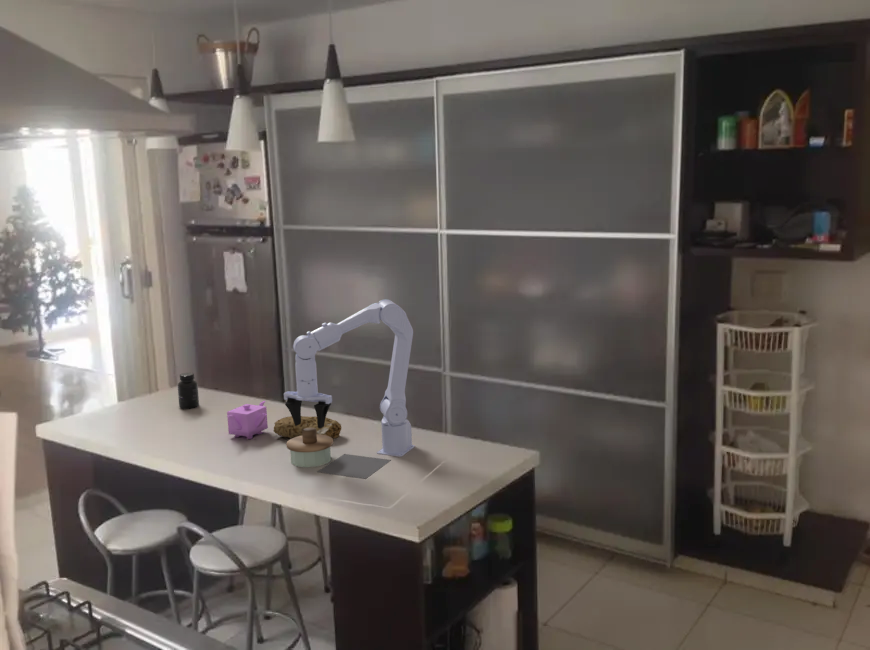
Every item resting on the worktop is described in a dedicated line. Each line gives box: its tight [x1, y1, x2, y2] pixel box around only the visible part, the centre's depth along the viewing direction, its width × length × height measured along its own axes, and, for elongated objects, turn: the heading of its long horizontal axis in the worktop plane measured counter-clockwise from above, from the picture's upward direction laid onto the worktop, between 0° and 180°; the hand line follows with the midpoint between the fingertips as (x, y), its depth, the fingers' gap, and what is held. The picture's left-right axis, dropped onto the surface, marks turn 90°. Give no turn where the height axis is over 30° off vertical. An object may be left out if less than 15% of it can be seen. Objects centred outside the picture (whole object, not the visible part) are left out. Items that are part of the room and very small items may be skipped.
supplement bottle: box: [177, 372, 200, 410], centre depth 285 cm, size 7×7×12 cm
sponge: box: [272, 415, 342, 439], centre depth 249 cm, size 13×8×20 cm
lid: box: [286, 428, 334, 452], centre depth 227 cm, size 13×13×4 cm
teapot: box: [226, 400, 269, 440], centre depth 252 cm, size 18×13×10 cm
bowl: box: [289, 447, 332, 468], centre depth 228 cm, size 11×11×5 cm
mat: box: [316, 453, 392, 480], centre depth 223 cm, size 15×15×1 cm
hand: (309, 425), depth 226 cm, fingers open, 7 cm apart
